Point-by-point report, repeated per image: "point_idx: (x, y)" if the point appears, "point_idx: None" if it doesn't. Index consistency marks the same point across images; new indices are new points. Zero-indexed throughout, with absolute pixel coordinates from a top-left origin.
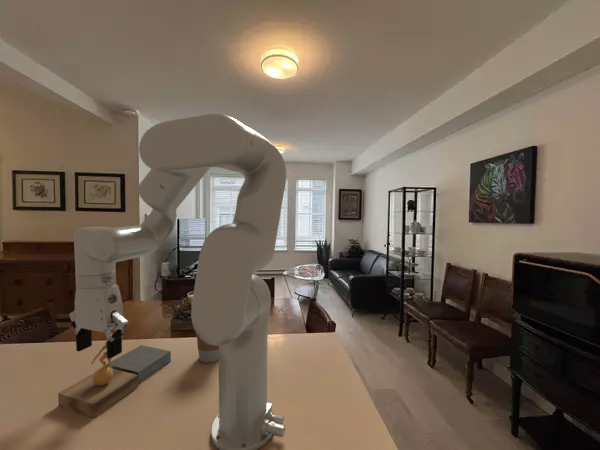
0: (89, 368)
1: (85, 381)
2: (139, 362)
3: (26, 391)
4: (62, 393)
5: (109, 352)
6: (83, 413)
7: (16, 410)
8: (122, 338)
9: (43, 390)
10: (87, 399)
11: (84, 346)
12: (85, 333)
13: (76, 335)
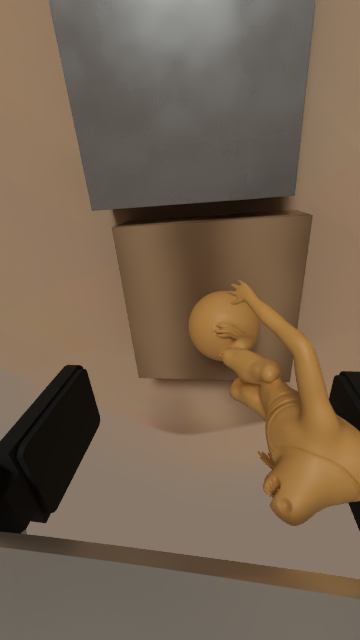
0: (8, 202)
1: (148, 320)
2: (226, 120)
3: (12, 344)
4: (150, 375)
5: None
6: None
7: None
8: (309, 343)
9: (40, 329)
10: None
11: (89, 411)
12: (38, 481)
13: (38, 520)
